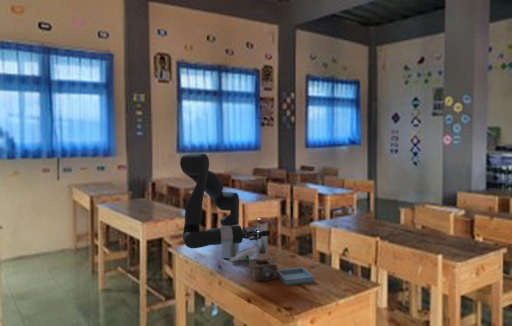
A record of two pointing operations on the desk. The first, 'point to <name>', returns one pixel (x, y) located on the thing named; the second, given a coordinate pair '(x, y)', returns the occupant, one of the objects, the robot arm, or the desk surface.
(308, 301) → the desk surface
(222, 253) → the robot arm
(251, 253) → the tabbed white plastic disc
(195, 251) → the desk surface
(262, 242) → the pin
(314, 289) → the desk surface
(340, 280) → the desk surface
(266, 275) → the block
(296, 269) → the tray
